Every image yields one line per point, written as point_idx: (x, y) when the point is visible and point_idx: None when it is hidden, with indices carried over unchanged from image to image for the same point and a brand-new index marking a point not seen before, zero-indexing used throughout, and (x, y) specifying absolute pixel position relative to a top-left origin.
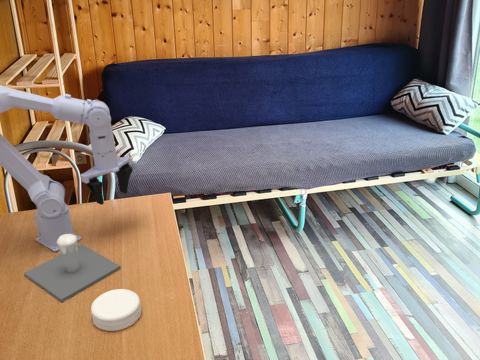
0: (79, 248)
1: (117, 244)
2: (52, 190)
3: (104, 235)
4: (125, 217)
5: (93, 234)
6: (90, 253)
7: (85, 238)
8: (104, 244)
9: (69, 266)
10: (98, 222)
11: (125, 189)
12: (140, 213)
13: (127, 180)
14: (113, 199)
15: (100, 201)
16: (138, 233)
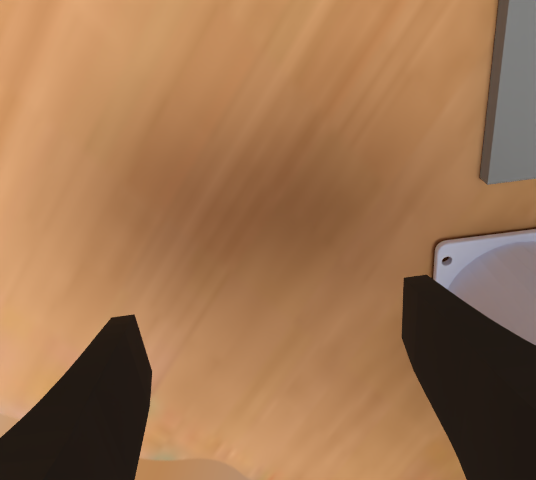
0: (526, 151)
1: (339, 49)
2: None
3: (331, 197)
4: (141, 283)
5: (364, 245)
6: (532, 51)
7: (414, 238)
8: (390, 109)
9: None
10: (277, 326)
11: (120, 338)
12: (48, 266)
13: (45, 417)
14: None
15: (450, 295)
16: (168, 69)
